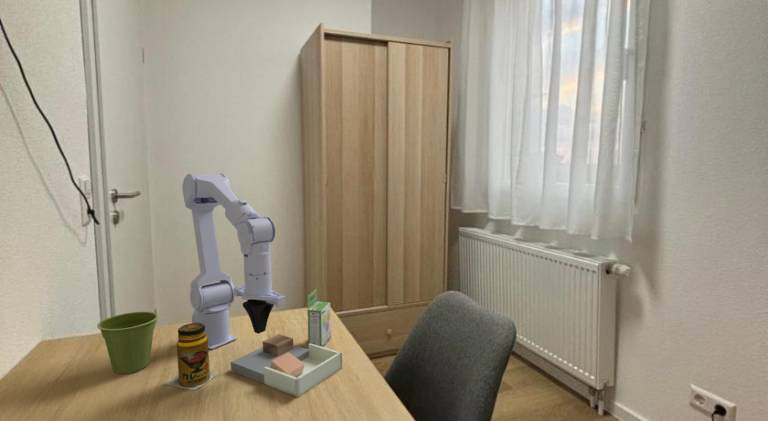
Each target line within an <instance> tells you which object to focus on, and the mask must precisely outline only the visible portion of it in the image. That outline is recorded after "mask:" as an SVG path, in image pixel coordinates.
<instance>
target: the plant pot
mask: <svg viewBox="0 0 768 421" xmlns="http://www.w3.org/2000/svg"><path fill="white" fill-rule="evenodd" d="M158 318H159V314H158V313H156V312H153V311H133V312H126V313H122V314H116V315H114V316H111V317H107V318H105V319H103V320H101V321H100V322H98V323H97V325H96V326H97V329H98V330H100V332H101V335H102V337H103V339H104V342H105V346H106V350H107V354H108V357H109V361H110V365H111V368H112V371H113V373H117V374H119V375H127V374H130V373H131V374H133V373H136V372H140V370H141V369H143V368H147V367H148V366H149V365H150V362H151V354H152V347H153V346H152V345H153V338H154V330H155V328H156V322H157V320H158Z"/></svg>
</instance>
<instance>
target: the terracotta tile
mask: <svg viewBox="0 0 768 421" xmlns="http://www.w3.org/2000/svg"><path fill="white" fill-rule="evenodd" d="M304 365H305V364H304V363H303V362H301V361H300V360H299V359H297V358H296V357H295V356H293V355H292V354H291V353H289V352H288V353H286V354H284V355H282V356H280V357H278V358H276V359H275V360H273V361H272V362H271V366H270V368H272V369H274V370H277V371H280V372H283V373H285V374H288V375H291V376H294V377H298V376H299V375H301V374H302V373H303V369H304Z"/></svg>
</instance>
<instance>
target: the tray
mask: <svg viewBox="0 0 768 421" xmlns="http://www.w3.org/2000/svg"><path fill="white" fill-rule="evenodd" d="M308 349H309V357H308V358H306V359H304V360H302V361H301V362H303V363H304V364H305V365H304V369H303V373H302V374H301V375H299V376H298V377H294V376H291V375H288V374H285V373H283V372H280V371H277V370H274V369H272V368H269V367H264V383H263V384H264V385H266V386H268V387H272V388H274V389H276V390H279V391H281V392H283V393H286V394H288V395H292V396H294V397H296V398H298V397H300V396H301V395H303V394H304V393H306V392H308V391H309V390H311V389H312V388H314V387H315V386H317V385H318V384H320V383H321V382H323V381H325V380H326V379H328V378H329V377H330V376H332V375H333V374H335V373H337V372H339V371H340V370H341V369H343V353H342V352H341V351H338V350H334V349H331V348H328V347H327V348H326V347H324V346H323V347H321V346H317V345H314V344H311V343H310V344H309V347H308Z"/></svg>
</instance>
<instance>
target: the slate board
mask: <svg viewBox="0 0 768 421" xmlns="http://www.w3.org/2000/svg"><path fill="white" fill-rule="evenodd" d="M288 352H289V353H291V354H292V355H293V356H295V357H296V358H297V359H299V360H300V361H302V360H304V359H306V358H308V357H309V348H305V347H301V346H298V345H295V344H293V349H292V350H290V351H288ZM288 352H286V353H288ZM286 353H284V354H286ZM284 354H282V355H284ZM282 355H280V356H282ZM280 356H275V355H272V354H269V353H266V352H263V346H262V347H260V348H258V349H256V350H253V351H251V352H249V353H248V354H245V355H242V356H240V357H238V358H236V359H234V360H232V361H231V362H230V370H231V371H232V372H234V373H237V374H240V375H242V376H244V377H247V378H250V379H252V380H254V381H256V382H260V383H263V384H264V367H269V368H270V366H271V362H272V361H273V360H275V359H276V358H278V357H280Z"/></svg>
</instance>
